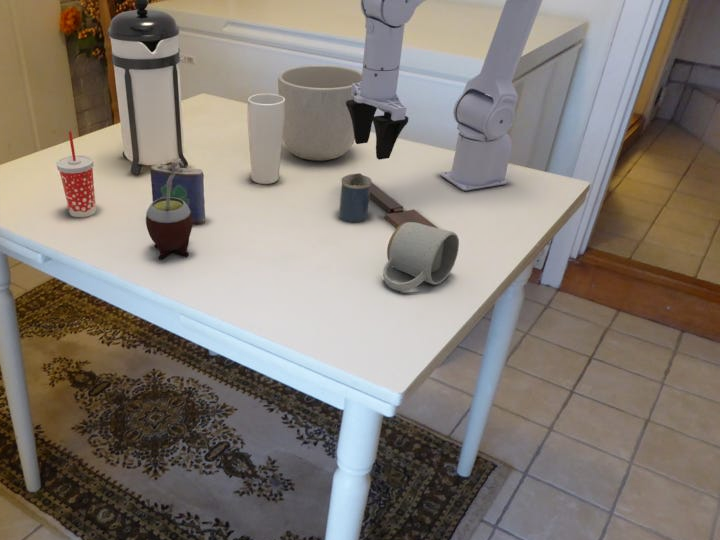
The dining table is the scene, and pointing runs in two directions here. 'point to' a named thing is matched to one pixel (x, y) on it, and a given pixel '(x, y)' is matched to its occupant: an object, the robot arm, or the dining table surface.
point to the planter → (318, 110)
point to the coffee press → (148, 86)
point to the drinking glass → (265, 136)
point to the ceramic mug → (421, 254)
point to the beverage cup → (78, 182)
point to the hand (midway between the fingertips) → (371, 150)
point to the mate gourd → (169, 224)
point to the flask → (180, 187)
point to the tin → (354, 198)
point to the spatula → (395, 209)
